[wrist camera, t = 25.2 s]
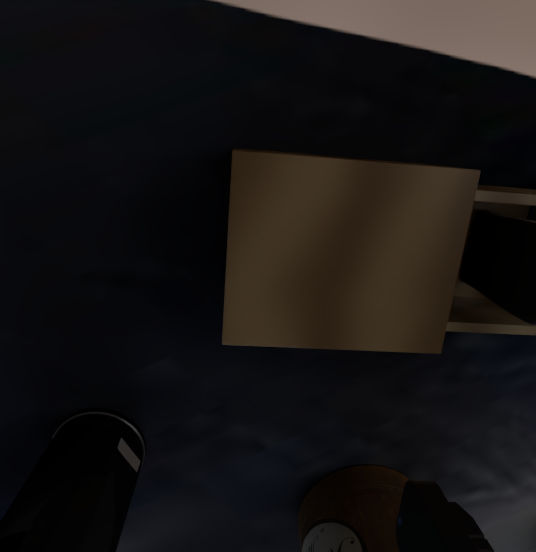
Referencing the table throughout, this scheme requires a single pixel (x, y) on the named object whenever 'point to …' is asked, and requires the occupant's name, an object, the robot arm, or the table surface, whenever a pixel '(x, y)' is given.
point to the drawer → (469, 302)
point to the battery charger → (503, 262)
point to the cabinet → (343, 251)
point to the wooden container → (352, 511)
